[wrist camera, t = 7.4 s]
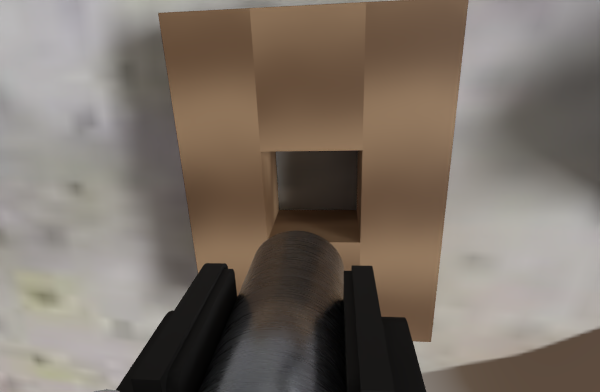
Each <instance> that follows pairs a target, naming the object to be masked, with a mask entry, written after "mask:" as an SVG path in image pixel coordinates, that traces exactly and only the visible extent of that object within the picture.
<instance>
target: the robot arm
mask: <svg viewBox="0 0 600 392" xmlns="http://www.w3.org/2000/svg"><path fill="white" fill-rule="evenodd" d="M236 299H237V289H236V280H235V272H234V270H233V269H228V266H227V264H226V263H205V264H204V265H203V267H202V268H201V270H200V271H199V273H198V275H197V276H196V278H195V279H194V281H193V282H192V284H191V285H190V287H189V289H188V290H187V292H186V293H185V295H184V296H183V298H182V300H181V301H180V303H179V304H178V306H177V307H176V309H175V310H174V311H170V312H168V313H167V314H166V316H165V317H164V318H163V320H162V321H161V323H160V324H159V326H158V327H157V329H156V330H155V332H154V333H153V335H152V336H151V338H150V340H149V341H148V343H147V344H146V346H145V347H144V349H143V350H142V352H141V353H140V355H139V356H138V358H137V359H136V361H135V362H134V364H133V365H132V367H131V368H130V370H129V371H128V373H127V374H126V376H125V377H124V379H123V380H122V382H121V383H120V385H119V386H118V388H117V389H116V390H108V389H107V390H100V391H95V392H198V391H199V389H200V386H201V384H202V382H203V379H204V377H205V374H206V372H207V369H208V367H209V365H210V362H211V360H212V357H213V355H214V353H215V350H216V348H217V345H218V343H219V340H220V338H221V336H222V333H223V331H224V328H225V326H226V323H227V321H228V319H229V316H230V314H231V311H232V309H233V307H234V304H235V302H236ZM343 303H344V337H345V371H346V392H426V390H425V386H424V382H423V379H422V374H421V371H420V367H419V363H418V360H417V356H416V352H415V349H414V345H413V341H412V337H411V334H410V330H409V326H408V323H407V320H406V318H405V317H381V311H380V306H379V300H378V294H377V289H376V283H375V277H374V271H373V266H361V265H352V267H351V271H344V288H343Z"/></svg>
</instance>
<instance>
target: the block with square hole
mask: <svg viewBox="0 0 600 392" xmlns="http://www.w3.org/2000/svg"><path fill="white" fill-rule="evenodd" d="M467 8H468V0H399V1H380V2H361V3H341V4H322V5H303V6H284V7H264V8H245V9H226V10H207V11H188V12H168V13H158V15H159V22H160V28H161V35H162V41H163V48H164V54H165V61H166V67H167V74H168V80H169V87H170V93H171V100H172V106H173V113H174V119H175V126H176V132H177V139H178V145H179V152H180V158H181V165H182V171H183V178H184V185H185V191H186V198H187V204H188V211H189V217H190V224H191V230H192V237H193V243H194V250H195V256H196V263H197V269H198V273H199V271H200V270H201V268H202V267H203V265H204V264H205V263H226V264H227V266H228V269H233V270H234V272H235V280H236V289H237V297H238V294H239V292H240V290H241V287H242V285H243V282H244V280H245V277H246V275H247V273H248V270H249V268H250V265H251V263H252V261H253V258H254V256H255V254H256V251H257V250H258V248H259V247H260V246H261V245H262V244H263V243H264V242H265V241H266V240H267V239H269V238H270V237H272V236H274V235H276V234H278V233H282V232H286V231H295V230H297V231H306V232H310V233H313V234H316V235H318V236H320V237H322V238H324V239H325V240H327V241H328V242H329V243H331V244H332V245H333V246H334V247H335V249H336V250H337V251H338V253H339V255H340V256H341V258H342V261H343V264H344V270H345V271H351V267H352V265H361V266H373V271H374V277H375V283H376V289H377V294H378V300H379V306H380V311H381V317H405V318H406V320H407V323H408V326H409V330H410V334H411V337H412V341H420V342H431V336H432V327H433V318H434V309H435V300H436V291H437V282H438V273H439V263H440V254H441V245H442V236H443V227H444V218H445V209H446V200H447V190H448V181H449V172H450V163H451V154H452V145H453V136H454V127H455V118H456V108H457V99H458V90H459V81H460V72H461V63H462V54H463V45H464V35H465V26H466V17H467ZM347 150H358V154H357V208H356V210H279V198H278V182H277V165H276V151H347Z"/></svg>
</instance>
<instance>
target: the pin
mask: <svg viewBox="0 0 600 392" xmlns="http://www.w3.org/2000/svg"><path fill="white" fill-rule="evenodd" d="M344 271H345V270H344V264H343V261H342V258H341V256H340V255H339V253H338V251H337V250H336V249H335V247H334V246H333V245H332V244H331V243H329V242H328V241H327V240H325V239H324V238H322V237H320V236H318V235H316V234H313V233H310V232H306V231H297V230H295V231H286V232H282V233H278V234H276V235H274V236H272V237H270V238H269V239H267V240H266V241H265V242H264V243H263V244H262V245H261V246H260V247H259V248H258V250H257V251H256V254H255V256H254V258H253V261H252V263H251V265H250V268H249V270H248V273H247V275H246V277H245V280H244V282H243V285H242V287H241V290H240V292H239V294H238V297H237V299H236V302H235V304H234V307H233V309H232V311H231V314H230V316H229V319H228V321H227V323H226V326H225V328H224V331H223V333H222V336H221V338H220V340H219V343H218V345H217V348H216V350H215V353H214V355H213V357H212V360H211V362H210V365H209V367H208V369H207V372H206V374H205V377H204V379H203V382H202V384H201V386H200V389H199V391H198V392H346V371H345V337H344V303H343V288H344Z"/></svg>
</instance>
